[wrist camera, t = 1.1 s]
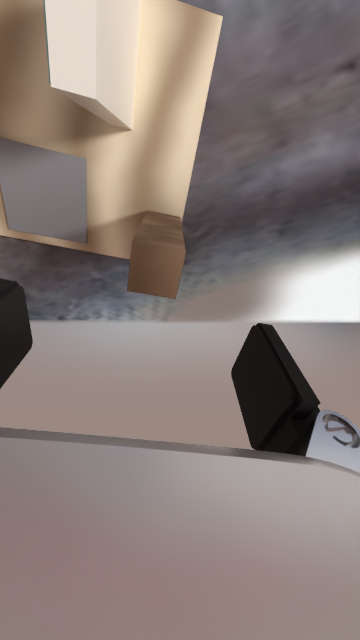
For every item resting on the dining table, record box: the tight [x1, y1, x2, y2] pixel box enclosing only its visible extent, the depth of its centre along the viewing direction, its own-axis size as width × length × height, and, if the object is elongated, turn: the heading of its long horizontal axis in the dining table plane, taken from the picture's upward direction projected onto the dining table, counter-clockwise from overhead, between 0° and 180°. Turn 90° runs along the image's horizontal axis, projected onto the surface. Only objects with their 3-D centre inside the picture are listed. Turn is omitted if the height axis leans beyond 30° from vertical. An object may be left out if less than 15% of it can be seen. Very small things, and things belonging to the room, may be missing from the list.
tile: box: [43, 0, 142, 130], centre depth 14 cm, size 2×8×12 cm, turn 169°
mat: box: [0, 138, 87, 244], centre depth 23 cm, size 8×8×1 cm
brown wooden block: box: [127, 210, 186, 299], centre depth 21 cm, size 4×4×12 cm
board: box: [0, 0, 223, 259], centre depth 22 cm, size 20×20×1 cm
